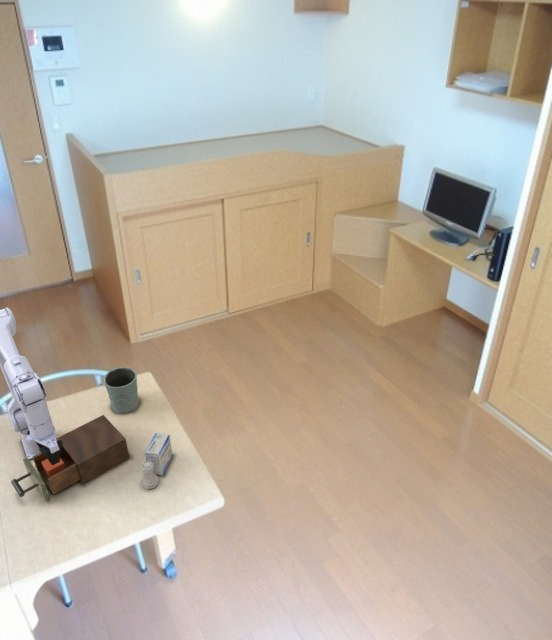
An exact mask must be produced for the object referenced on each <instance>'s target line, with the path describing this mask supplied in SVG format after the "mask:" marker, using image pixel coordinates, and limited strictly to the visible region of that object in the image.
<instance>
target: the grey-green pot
mask: <svg viewBox="0 0 552 640" xmlns="http://www.w3.org/2000/svg"><path fill="white" fill-rule="evenodd" d="M137 377H138V376H137V372H136V370H134V369H133V368H132V367H128V366H121V367H115V368H112V369H110V370H109V371H108V372H107V373H106V374H105V375H104V377H103V384H104V386H105V389H106V391H107V394H108V398H109V401H110V405H111V409H112V411H113V412H115V413H117V414H120V415H121V414H123V415H124V414H128V413H129V414H130V413H131V412H134V411H135V410H136V409H137V408H138V406H139V404H140V403H139V401H140V400H139V392H138V378H137Z"/></svg>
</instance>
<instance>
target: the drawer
mask: <svg viewBox="0 0 552 640" xmlns="http://www.w3.org/2000/svg"><path fill="white" fill-rule="evenodd" d="M60 458H61V459H62V461H63V462H64V464H65V468H66V469H64V470H62V471H60V472H58V473H56V474H55V475H53V476H51V477H49V478H48V477H47V476H46V474H45V472H44V469H43V466H42V463H41V462H42V461H44V460H46V459H47V457H46V456H44V455H43V454H42V453H39V454H37V455H35V456H33V458H32V459H33V463H34V465H35V467H34V465H33V464H32V462H31V461H30V460H29V459H28V458H27V457H25V458H23V459H22V461H23V465H24V467H25V470H26V472H27V473H26V474H24V475H22V476H20V477H18V478H13V479H12V480H11V481H10V483H11V485H12V486H13V488H14V490H15V491H16V493H17V494H18V496H19V497H20V498H22V497H24V496H25V495H26V494H27V493H28V492H30V491H32V490H34V489H37V491H38V492H39V493H40V495H41V496H42V498H43V499H44V501H45V502H47V501H49V500H51V497H50V494H49V491H48V488H49V490H50V491H51V493H52V495H56V494H57V493H59V492H60V491H63V490H64V489H66V488H68V487H70V486H72V485H73V484H75V483H77V482H79V481H80V479H81V477H80V474H79V471H78V467H77V465H76V463H75V462H74V461H73V459H72V458H71V457H70V456H69V454H68V453H67V452H66V450H65V449H64V448H63V447H62V449H61V452H60ZM26 478H29V479H30V480H31V481H32V483H33V485H31V486H29V487H27V488H26V489H23V488H22V486H21V484H20V483H19V482H21V481H23V480H24V479H26ZM47 487H48V488H47Z"/></svg>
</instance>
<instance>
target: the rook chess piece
mask: <svg viewBox="0 0 552 640" xmlns="http://www.w3.org/2000/svg"><path fill="white" fill-rule="evenodd" d="M153 466H154V464H153V463H152V462H151V461H150V460H148V461H146V459H145V460H144V461H143V462H142V464H141V466H140V467H141V469H142V472H143V474H144V475H143V477H142V479H141V481H142V482H141V483H142V487H143V488H144V489H147V490H152V489H153V490H154V488H156V487H157V486H158V485H159V482H160V481H159V476H158V475H157V474H154V472H153V470H154V469H153Z"/></svg>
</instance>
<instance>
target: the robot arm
mask: <svg viewBox="0 0 552 640" xmlns="http://www.w3.org/2000/svg"><path fill="white" fill-rule="evenodd" d="M17 325H18V324H17V322H16V318H15V316H14V313H13V312H12V310H11V309H10V308H9V307H4V308H2V309H0V369H1V371H2V375H3V377H4V379H5V382H6V384H7V387H8V389H9V392H10V394H11V396H12V397H11V400H10V401H9V403H8V404H7V405H6V409H5V410H6V413H7V417H8V420H9V422H10V424H11V427H12V429H13V431H14V432H16V433H19V434H20V437H21V443H22V446H23V449H24V452H25V454H26V455H25V457H26V458H28V459H29V461H30V460H32V459H33V456H35V455H37V454H39V453H42V454H43V455H44V456H46V457H47V459H48V460H49V462H50V463H51V465H55V464H57V463H59V462H60V452H61V449H62V447H63V442H62V441H61V440H59V441H57V433H56V427H55V425H54V423H53V420H52V417H51V416H52V415H51V413H50V409H49V407H48V403H47V399H46V398H47V397H48V396H47V390H46V388H45V385H44V383H43V381H42V379H41V378H40V376H38V374H37V373H36V372H35V371H34V370H33V367H32V366H31V363H30V361H29V360H28V358H27V357H26V356H24V355H21V354H20V352H19V350H18V348H17V345H16V343H15V340H14V336H15V335H16V334H17V327H18V326H17Z"/></svg>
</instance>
